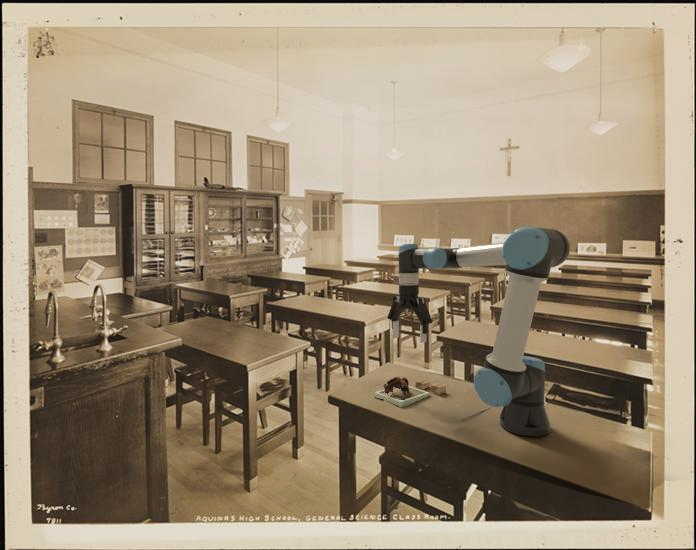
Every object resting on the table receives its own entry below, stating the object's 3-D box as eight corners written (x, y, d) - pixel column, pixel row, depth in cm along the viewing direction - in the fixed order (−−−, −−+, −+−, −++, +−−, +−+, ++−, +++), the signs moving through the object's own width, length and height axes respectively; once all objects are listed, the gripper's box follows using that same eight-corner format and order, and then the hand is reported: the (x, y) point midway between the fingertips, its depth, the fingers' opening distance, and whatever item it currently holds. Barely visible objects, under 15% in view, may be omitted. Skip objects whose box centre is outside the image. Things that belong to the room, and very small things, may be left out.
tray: (430, 397, 156) (430, 392, 155) (401, 407, 145) (401, 402, 145) (402, 389, 166) (402, 384, 166) (374, 397, 156) (374, 392, 156)
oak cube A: (445, 395, 158) (445, 385, 158) (439, 397, 156) (439, 387, 156) (437, 393, 162) (437, 383, 161) (430, 395, 159) (431, 385, 159)
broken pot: (407, 403, 148) (396, 383, 149) (387, 409, 154) (376, 390, 154) (419, 387, 158) (408, 368, 159) (400, 393, 164) (390, 375, 164)
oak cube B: (429, 391, 163) (429, 381, 163) (423, 393, 161) (423, 383, 160) (421, 389, 166) (422, 379, 166) (415, 391, 164) (415, 381, 164)
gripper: (441, 285, 148) (442, 343, 149) (391, 283, 167) (391, 334, 168) (429, 285, 143) (429, 345, 144) (378, 283, 162) (378, 337, 163)
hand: (409, 340), depth 156 cm, fingers open, 13 cm apart
